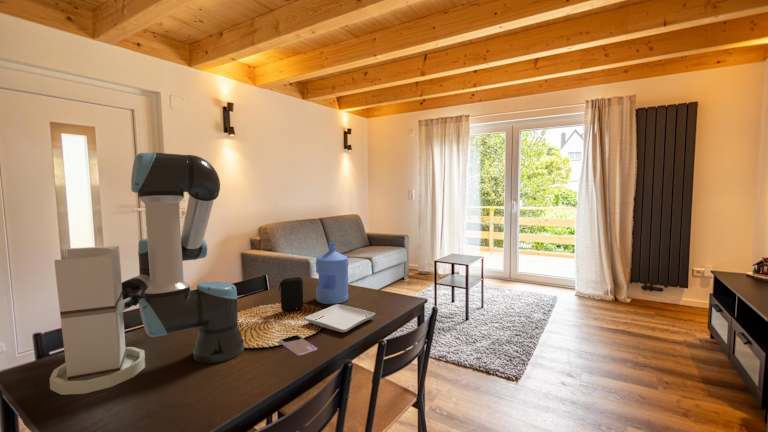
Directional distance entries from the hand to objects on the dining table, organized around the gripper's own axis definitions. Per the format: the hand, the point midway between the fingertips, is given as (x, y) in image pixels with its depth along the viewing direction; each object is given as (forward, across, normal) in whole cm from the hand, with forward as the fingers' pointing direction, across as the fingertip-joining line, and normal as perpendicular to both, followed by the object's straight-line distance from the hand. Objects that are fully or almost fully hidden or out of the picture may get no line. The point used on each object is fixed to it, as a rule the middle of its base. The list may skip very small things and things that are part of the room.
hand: (89, 310), depth 98 cm
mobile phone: (-17, -54, -21) cm, 60 cm away
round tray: (-3, 0, -20) cm, 20 cm away
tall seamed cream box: (-3, 0, -18) cm, 19 cm away
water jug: (-67, -64, -20) cm, 94 cm away
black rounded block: (-53, -46, -20) cm, 73 cm away
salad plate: (-37, -68, -21) cm, 81 cm away
